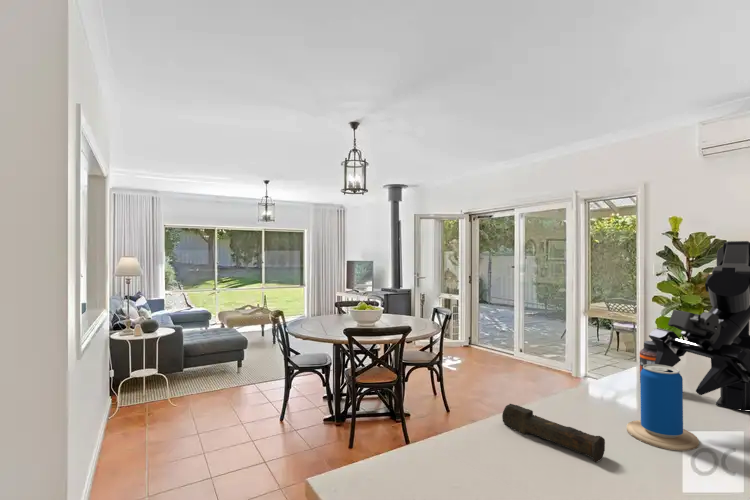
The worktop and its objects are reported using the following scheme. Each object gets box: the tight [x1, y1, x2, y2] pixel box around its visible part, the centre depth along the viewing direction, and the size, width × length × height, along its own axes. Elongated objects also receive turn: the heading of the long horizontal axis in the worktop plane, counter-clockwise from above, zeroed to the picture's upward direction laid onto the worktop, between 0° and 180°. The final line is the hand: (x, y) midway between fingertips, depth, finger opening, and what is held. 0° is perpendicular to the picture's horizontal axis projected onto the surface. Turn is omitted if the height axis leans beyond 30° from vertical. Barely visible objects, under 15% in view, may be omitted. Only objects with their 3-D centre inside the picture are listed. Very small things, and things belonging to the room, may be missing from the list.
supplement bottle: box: [639, 340, 657, 373], centre depth 102 cm, size 6×6×11 cm
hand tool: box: [501, 403, 606, 463], centre depth 74 cm, size 19×4×5 cm, turn 36°
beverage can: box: [639, 364, 684, 438], centre depth 75 cm, size 6×6×12 cm
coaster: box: [626, 419, 700, 452], centre depth 75 cm, size 11×11×1 cm
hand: (674, 384), depth 76 cm, fingers open, 9 cm apart
